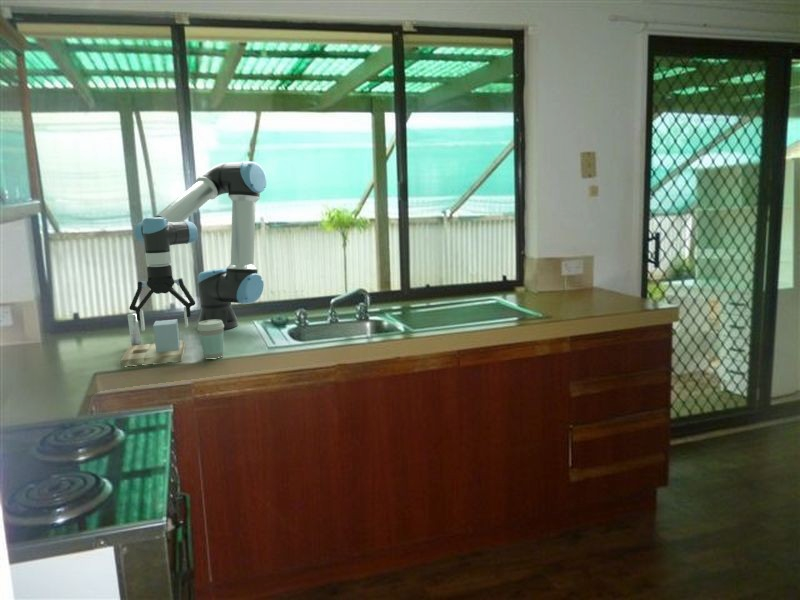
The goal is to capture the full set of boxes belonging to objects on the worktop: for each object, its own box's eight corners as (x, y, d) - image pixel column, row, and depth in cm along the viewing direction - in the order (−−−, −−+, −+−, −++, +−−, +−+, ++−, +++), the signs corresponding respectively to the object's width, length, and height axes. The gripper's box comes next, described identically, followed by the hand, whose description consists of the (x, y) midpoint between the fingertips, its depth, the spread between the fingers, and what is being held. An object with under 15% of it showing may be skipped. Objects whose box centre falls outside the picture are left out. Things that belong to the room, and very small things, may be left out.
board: (185, 347, 212) (182, 321, 211) (181, 361, 195) (178, 333, 194) (130, 352, 208) (126, 326, 206) (121, 367, 191) (117, 338, 189)
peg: (141, 345, 217) (137, 312, 215) (140, 347, 214) (136, 314, 212) (132, 346, 217) (128, 313, 214) (130, 348, 214) (126, 315, 211)
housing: (180, 344, 206) (177, 319, 205) (178, 350, 200) (175, 323, 198) (158, 346, 205) (155, 321, 203) (156, 352, 198) (153, 325, 196)
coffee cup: (217, 352, 205) (214, 317, 203) (232, 356, 200) (229, 320, 197) (195, 358, 198) (191, 323, 196) (209, 362, 193) (206, 326, 191)
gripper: (199, 261, 204) (204, 322, 207) (119, 266, 197) (126, 329, 201) (198, 264, 196) (204, 327, 200) (115, 268, 190) (122, 334, 194)
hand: (165, 328), depth 201 cm, fingers open, 13 cm apart
